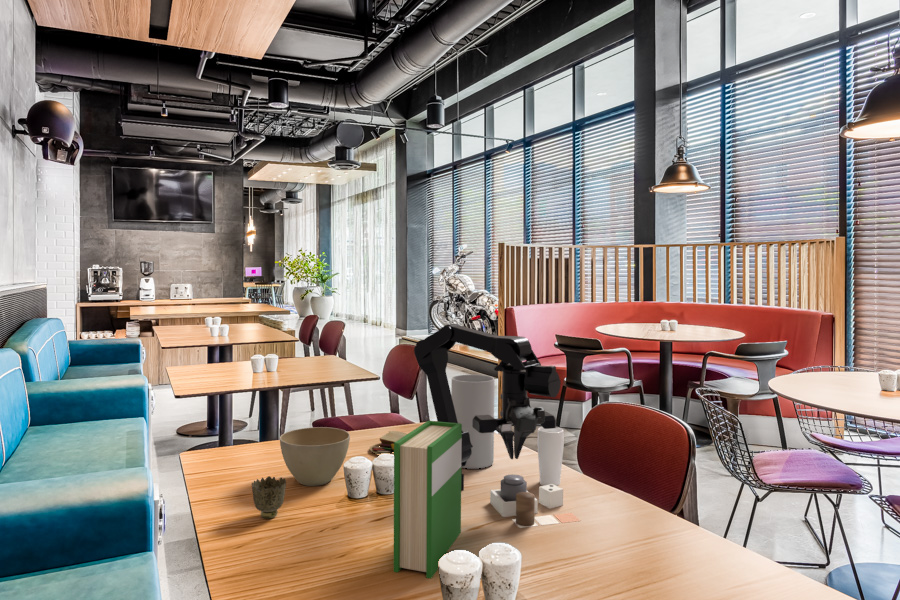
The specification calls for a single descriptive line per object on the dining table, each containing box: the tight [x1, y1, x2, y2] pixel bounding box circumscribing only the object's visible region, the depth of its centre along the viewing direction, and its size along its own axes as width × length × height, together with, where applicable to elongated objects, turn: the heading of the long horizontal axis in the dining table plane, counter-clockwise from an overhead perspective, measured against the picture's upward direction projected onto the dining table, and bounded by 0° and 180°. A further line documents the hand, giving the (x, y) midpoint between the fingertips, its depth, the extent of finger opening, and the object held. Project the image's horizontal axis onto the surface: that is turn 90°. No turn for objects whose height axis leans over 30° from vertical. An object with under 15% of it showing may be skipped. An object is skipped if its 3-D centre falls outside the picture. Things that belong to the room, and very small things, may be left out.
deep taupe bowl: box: [279, 426, 351, 487], centre depth 153 cm, size 18×18×12 cm
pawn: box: [515, 491, 536, 527], centre depth 126 cm, size 4×4×6 cm
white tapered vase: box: [536, 426, 565, 486], centre depth 151 cm, size 7×7×15 cm
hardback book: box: [393, 420, 462, 579], centre depth 113 cm, size 18×7×24 cm, turn 161°
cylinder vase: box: [450, 374, 495, 470], centre depth 169 cm, size 12×12×25 cm
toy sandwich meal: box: [369, 430, 408, 455], centre depth 181 cm, size 12×14×5 cm
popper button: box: [500, 474, 528, 502], centre depth 134 cm, size 6×6×5 cm
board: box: [489, 488, 581, 529], centre depth 131 cm, size 18×16×4 cm
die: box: [538, 484, 564, 509], centre depth 136 cm, size 4×4×4 cm
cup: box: [251, 476, 287, 520], centre depth 130 cm, size 8×7×8 cm
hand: (513, 458), depth 133 cm, fingers closed
